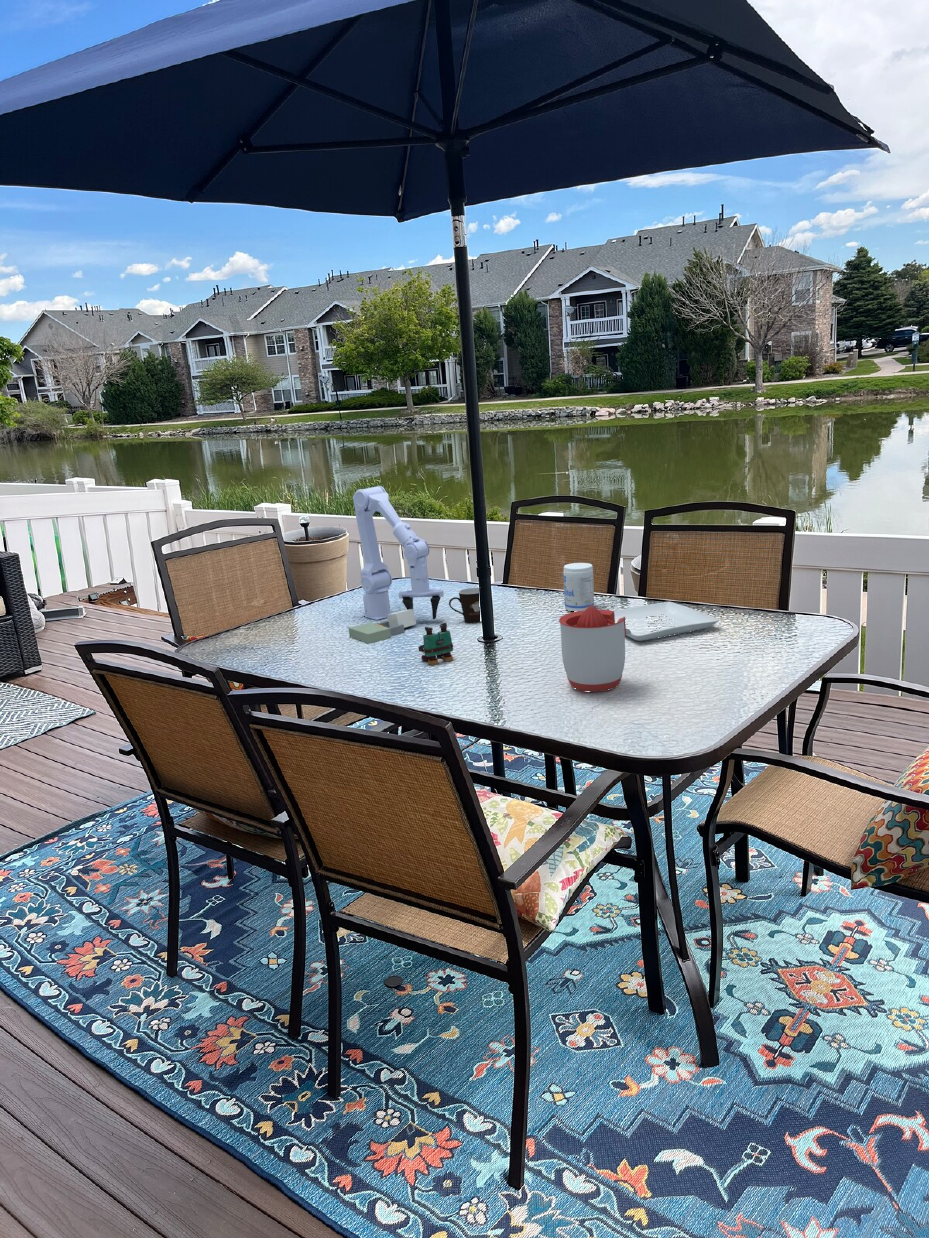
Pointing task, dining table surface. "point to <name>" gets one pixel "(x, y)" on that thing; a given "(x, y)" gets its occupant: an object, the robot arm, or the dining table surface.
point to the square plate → (683, 618)
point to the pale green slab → (374, 631)
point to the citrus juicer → (593, 648)
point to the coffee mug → (469, 604)
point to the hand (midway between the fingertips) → (423, 618)
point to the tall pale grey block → (402, 618)
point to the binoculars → (437, 645)
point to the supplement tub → (578, 586)
